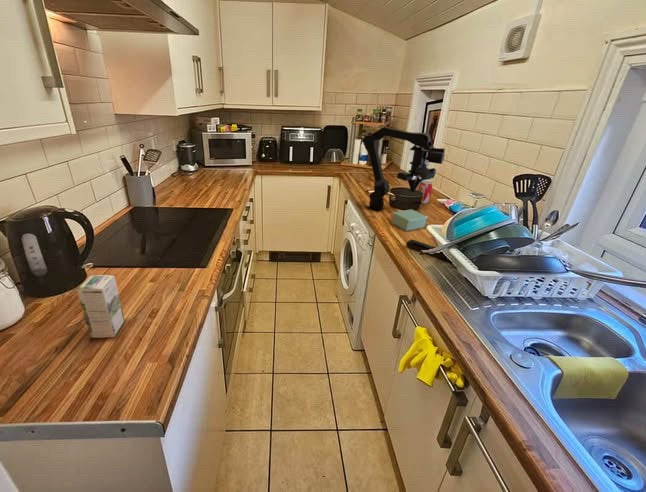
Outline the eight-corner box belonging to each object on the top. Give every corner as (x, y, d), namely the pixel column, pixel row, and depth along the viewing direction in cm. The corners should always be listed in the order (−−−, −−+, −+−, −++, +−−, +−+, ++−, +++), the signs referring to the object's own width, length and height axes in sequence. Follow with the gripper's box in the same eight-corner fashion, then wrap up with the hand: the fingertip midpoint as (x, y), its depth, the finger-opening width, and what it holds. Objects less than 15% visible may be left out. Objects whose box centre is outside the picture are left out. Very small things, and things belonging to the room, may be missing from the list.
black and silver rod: (405, 246, 122) (406, 240, 121) (408, 244, 124) (409, 238, 123) (452, 263, 111) (453, 256, 110) (454, 260, 113) (456, 253, 112)
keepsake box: (424, 227, 141) (426, 217, 139) (405, 231, 136) (407, 221, 134) (409, 219, 149) (411, 210, 147) (391, 223, 144) (392, 213, 142)
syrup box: (102, 322, 78) (88, 274, 72) (126, 321, 78) (114, 274, 73) (90, 338, 73) (74, 289, 67) (115, 337, 73) (102, 288, 67)
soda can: (430, 204, 170) (434, 184, 166) (417, 203, 172) (421, 183, 167) (427, 200, 177) (432, 181, 172) (415, 199, 178) (419, 180, 173)
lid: (427, 218, 138) (428, 216, 138) (408, 221, 134) (409, 220, 134) (411, 210, 147) (411, 209, 147) (393, 213, 142) (393, 212, 142)
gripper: (416, 165, 132) (409, 199, 138) (447, 163, 139) (439, 195, 145) (398, 160, 141) (393, 192, 147) (428, 158, 148) (422, 188, 154)
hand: (412, 192), depth 148 cm, fingers closed
